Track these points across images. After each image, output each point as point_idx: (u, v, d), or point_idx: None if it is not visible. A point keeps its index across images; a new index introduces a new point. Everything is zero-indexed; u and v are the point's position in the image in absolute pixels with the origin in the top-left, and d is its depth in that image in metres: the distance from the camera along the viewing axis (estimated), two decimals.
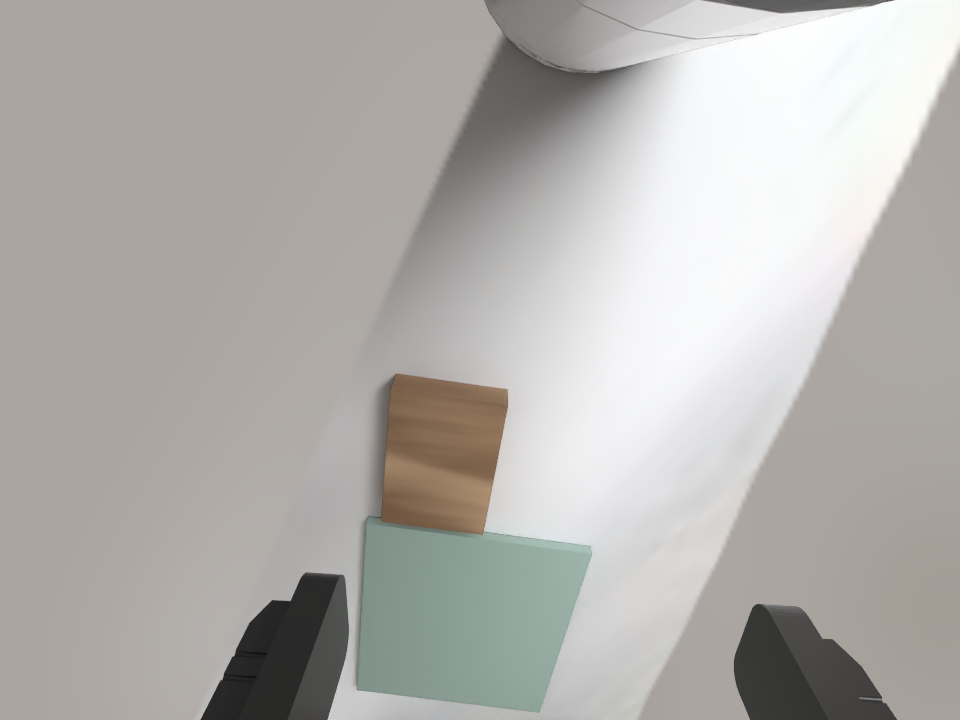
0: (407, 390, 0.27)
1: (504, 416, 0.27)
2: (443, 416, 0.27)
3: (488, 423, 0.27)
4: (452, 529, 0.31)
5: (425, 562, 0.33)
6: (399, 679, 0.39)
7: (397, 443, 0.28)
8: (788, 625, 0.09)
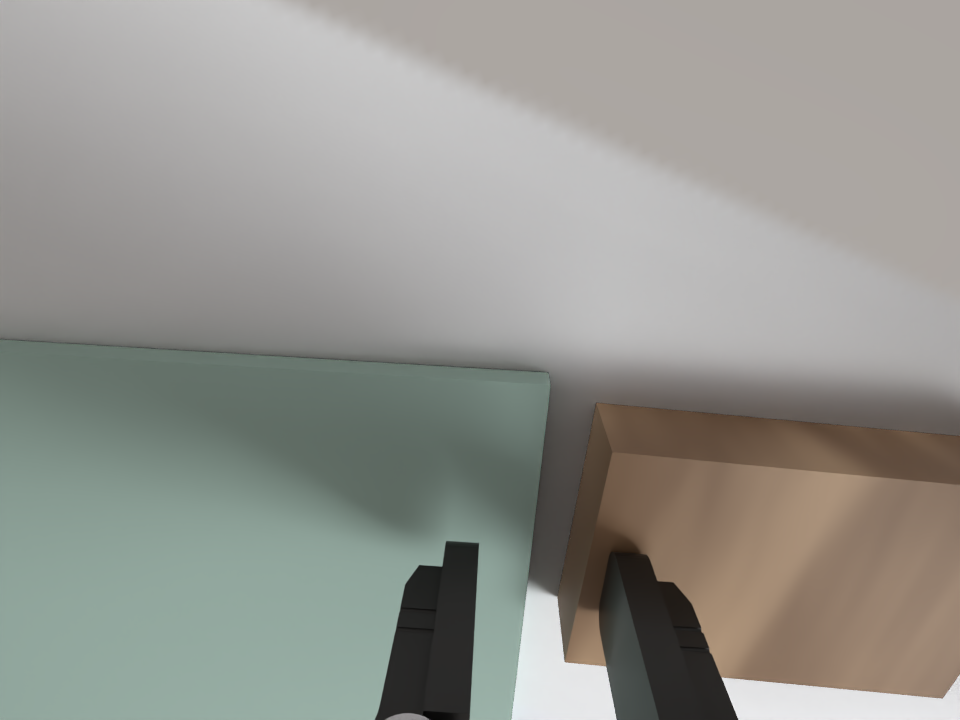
0: None
1: (915, 694, 0.12)
2: (955, 597, 0.11)
3: (906, 670, 0.12)
4: (582, 608, 0.12)
5: (424, 523, 0.12)
6: None
7: (898, 504, 0.10)
8: (630, 568, 0.10)
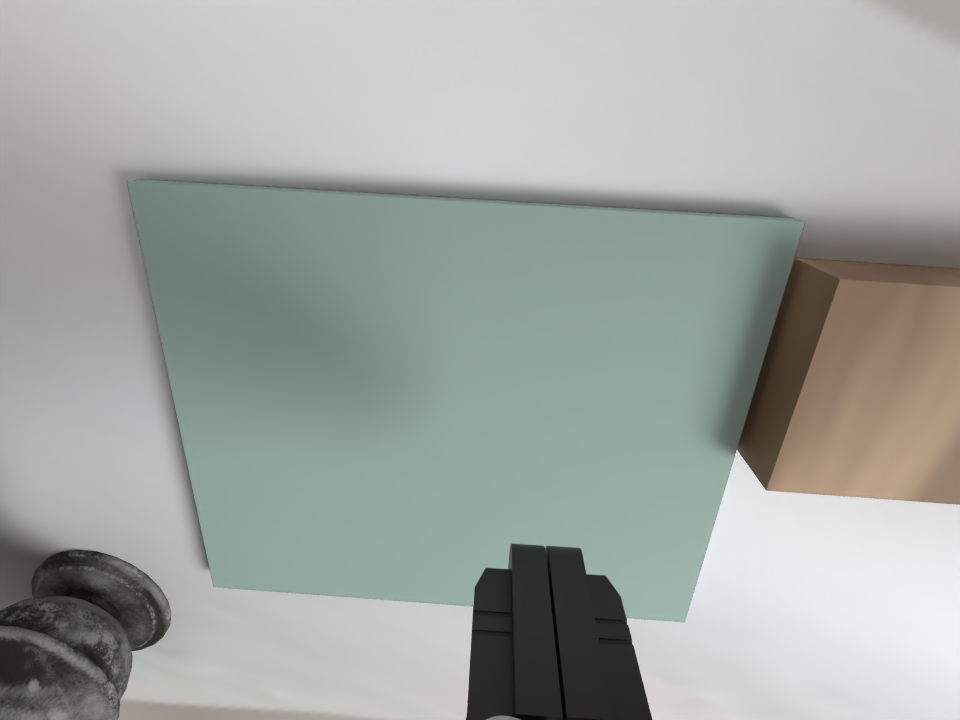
0: None
1: None
2: None
3: None
4: (790, 435, 0.14)
5: (668, 357, 0.15)
6: (220, 303, 0.14)
7: None
8: (561, 561, 0.10)
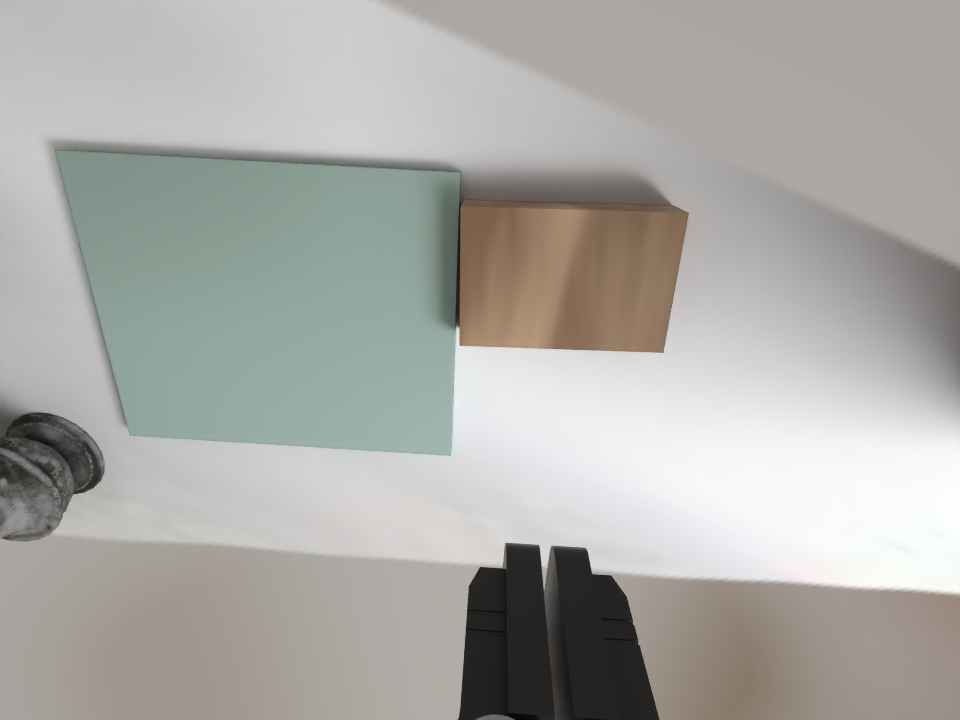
0: (683, 234, 0.21)
1: (647, 350, 0.23)
2: (647, 281, 0.22)
3: (638, 334, 0.23)
4: (462, 306, 0.23)
5: (398, 261, 0.23)
6: (118, 228, 0.23)
7: (602, 225, 0.21)
8: (566, 561, 0.10)
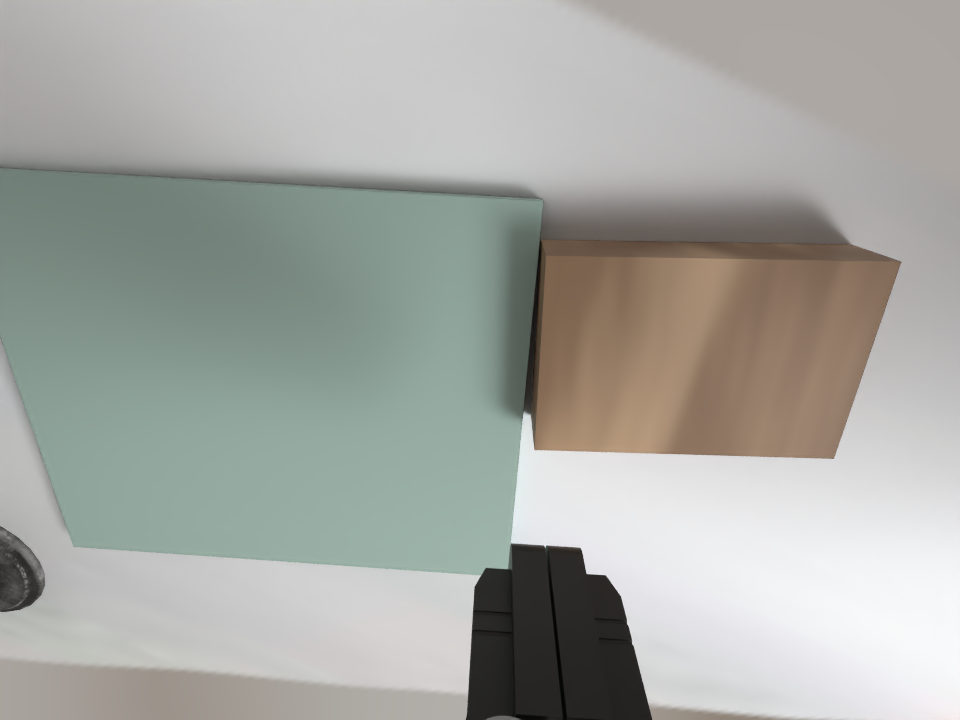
0: (886, 292, 0.14)
1: (811, 456, 0.16)
2: (823, 361, 0.14)
3: (799, 433, 0.15)
4: (541, 397, 0.15)
5: (446, 326, 0.16)
6: (40, 278, 0.16)
7: (763, 281, 0.14)
8: (560, 561, 0.10)
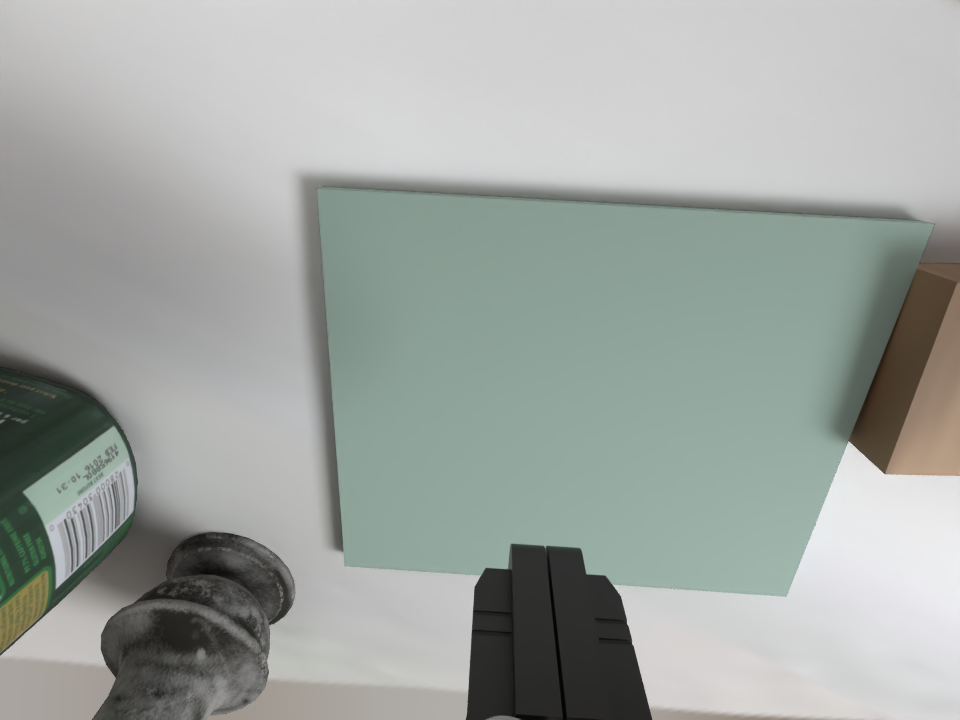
0: None
1: None
2: None
3: None
4: (908, 422, 0.15)
5: (797, 348, 0.16)
6: (388, 299, 0.16)
7: None
8: (561, 561, 0.10)
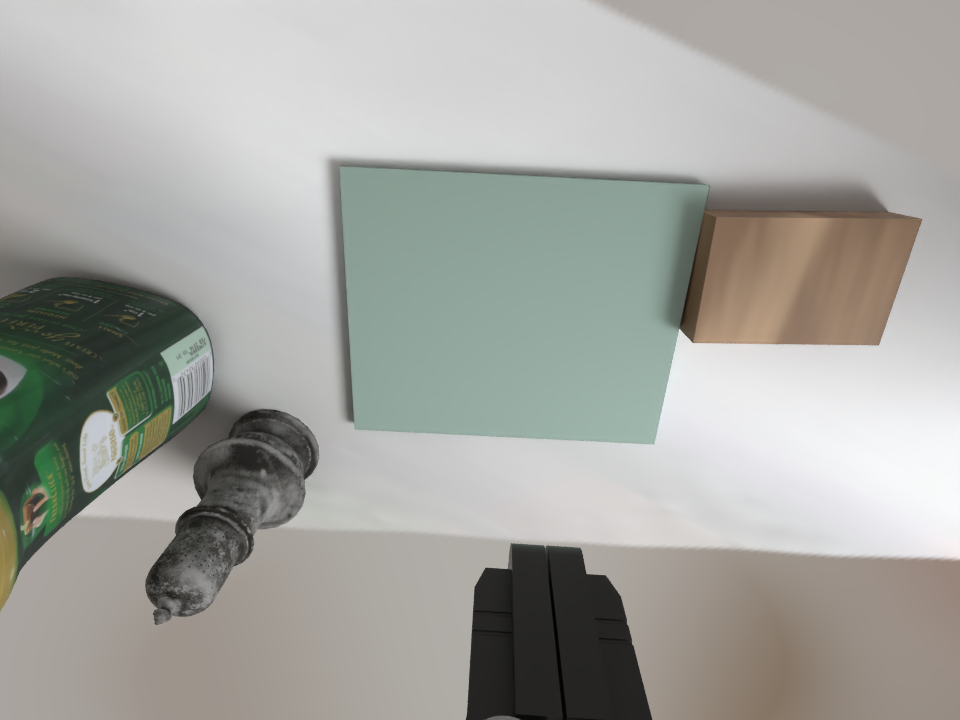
0: (913, 238, 0.23)
1: (865, 343, 0.25)
2: (875, 281, 0.24)
3: (858, 328, 0.25)
4: (702, 307, 0.25)
5: (638, 265, 0.26)
6: (383, 237, 0.25)
7: (842, 231, 0.23)
8: (561, 561, 0.10)
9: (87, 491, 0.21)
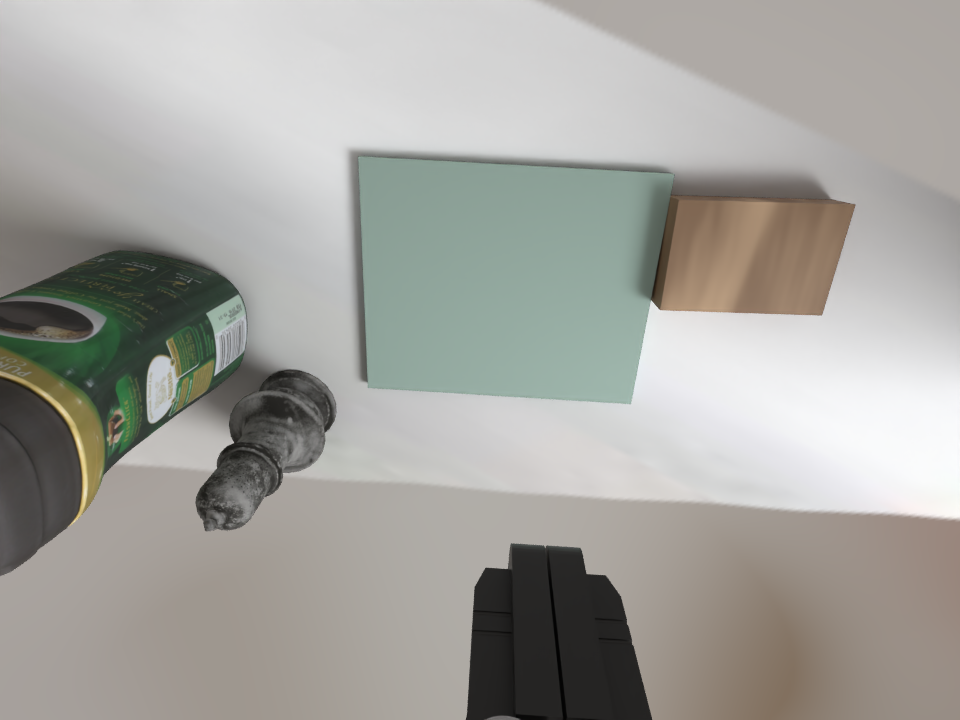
0: (848, 221, 0.27)
1: (809, 313, 0.29)
2: (816, 258, 0.28)
3: (804, 300, 0.29)
4: (667, 278, 0.29)
5: (614, 243, 0.30)
6: (394, 217, 0.29)
7: (787, 214, 0.27)
8: (560, 561, 0.10)
9: (150, 421, 0.25)
